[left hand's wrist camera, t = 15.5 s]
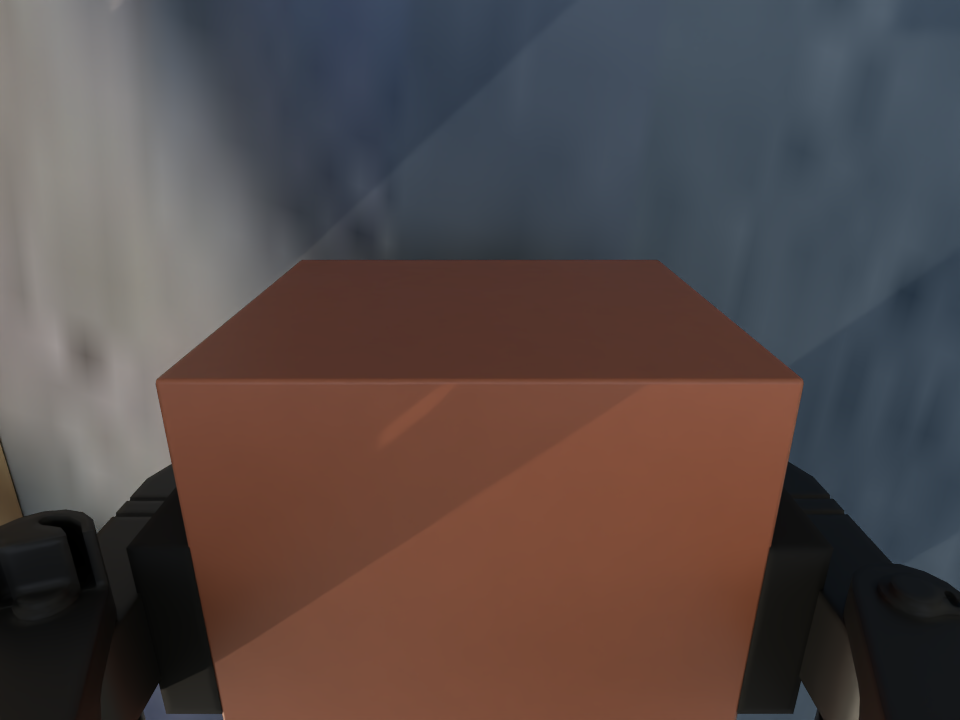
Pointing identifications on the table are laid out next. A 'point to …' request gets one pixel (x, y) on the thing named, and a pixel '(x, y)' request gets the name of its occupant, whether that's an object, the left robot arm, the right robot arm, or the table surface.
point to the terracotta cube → (479, 492)
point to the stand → (7, 494)
